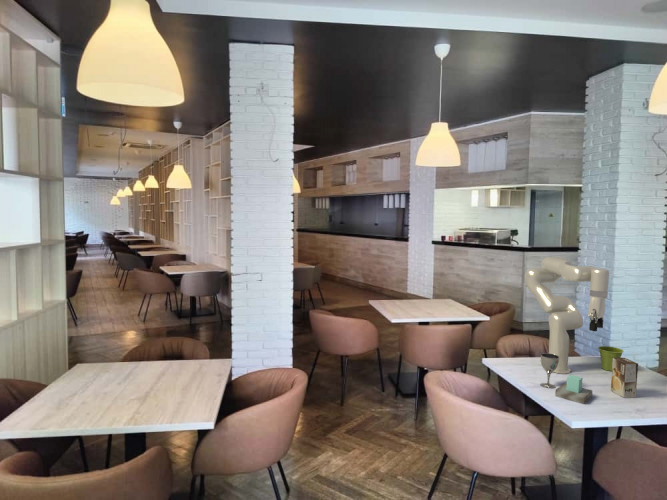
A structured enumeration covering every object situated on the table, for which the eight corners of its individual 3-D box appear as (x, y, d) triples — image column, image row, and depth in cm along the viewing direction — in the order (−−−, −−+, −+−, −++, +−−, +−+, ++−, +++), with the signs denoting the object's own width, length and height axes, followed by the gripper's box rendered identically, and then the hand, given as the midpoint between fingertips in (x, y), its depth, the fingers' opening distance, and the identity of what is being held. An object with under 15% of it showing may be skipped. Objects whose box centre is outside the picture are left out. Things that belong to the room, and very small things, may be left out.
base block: (555, 396, 207) (555, 389, 207) (564, 389, 215) (564, 383, 215) (583, 404, 198) (584, 397, 198) (592, 396, 207) (592, 390, 207)
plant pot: (603, 364, 254) (605, 344, 253) (626, 370, 244) (628, 350, 243) (592, 367, 248) (593, 347, 247) (614, 374, 238) (616, 353, 237)
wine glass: (555, 384, 222) (557, 354, 221) (558, 389, 215) (560, 359, 213) (538, 381, 225) (540, 352, 223) (540, 387, 217) (541, 357, 216)
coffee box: (636, 397, 207) (639, 363, 206) (623, 398, 206) (626, 363, 205) (622, 390, 216) (624, 357, 215) (609, 390, 216) (612, 357, 214)
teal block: (566, 389, 207) (567, 377, 206) (570, 387, 210) (570, 374, 210) (578, 393, 203) (579, 380, 203) (581, 390, 207) (582, 377, 206)
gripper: (595, 291, 226) (592, 324, 227) (584, 295, 213) (581, 330, 215) (612, 293, 220) (609, 327, 222) (602, 297, 208) (599, 333, 209)
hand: (596, 329), depth 218 cm, fingers open, 9 cm apart
